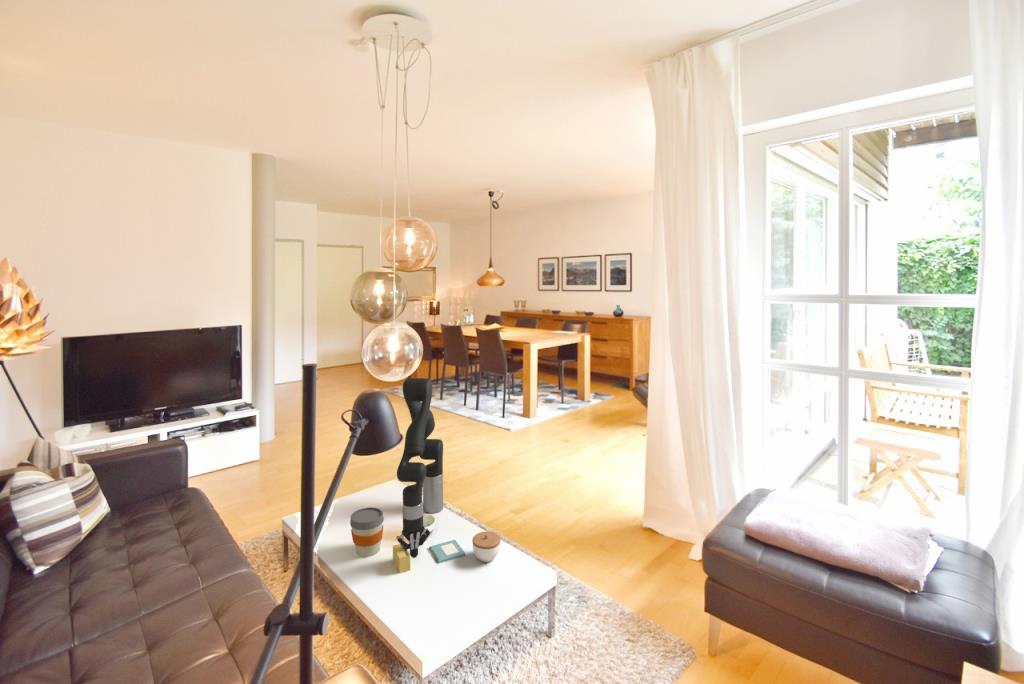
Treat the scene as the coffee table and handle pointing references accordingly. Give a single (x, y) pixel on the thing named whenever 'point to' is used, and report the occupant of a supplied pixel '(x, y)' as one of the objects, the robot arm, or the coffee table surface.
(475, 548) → the lidded jar
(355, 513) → the reusable coffee cup
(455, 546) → the spiral notebook
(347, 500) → the coffee table surface
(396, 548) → the yellow box with stripe
